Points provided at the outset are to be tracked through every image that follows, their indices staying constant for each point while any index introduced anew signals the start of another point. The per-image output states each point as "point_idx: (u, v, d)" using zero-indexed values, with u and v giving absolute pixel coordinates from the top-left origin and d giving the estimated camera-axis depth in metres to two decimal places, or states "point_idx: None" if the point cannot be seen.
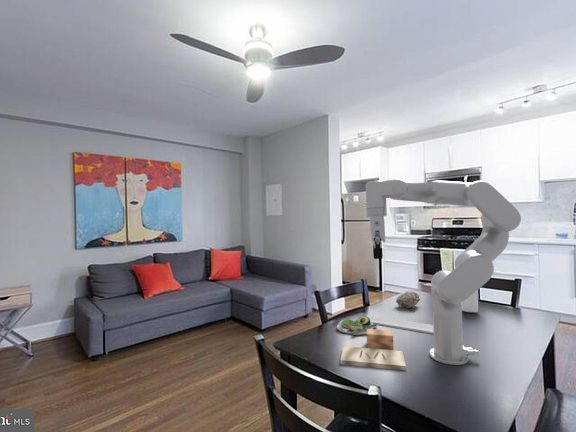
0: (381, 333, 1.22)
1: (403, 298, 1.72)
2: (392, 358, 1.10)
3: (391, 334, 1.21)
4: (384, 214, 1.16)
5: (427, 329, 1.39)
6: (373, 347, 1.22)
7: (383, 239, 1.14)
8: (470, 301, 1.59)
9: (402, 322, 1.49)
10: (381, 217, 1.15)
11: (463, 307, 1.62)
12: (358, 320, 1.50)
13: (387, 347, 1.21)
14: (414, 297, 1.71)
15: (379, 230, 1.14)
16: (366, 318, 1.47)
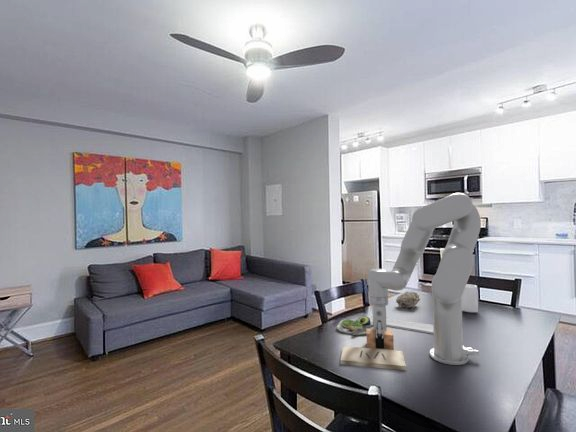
0: None
1: (403, 298, 1.72)
2: (392, 358, 1.10)
3: (391, 334, 1.21)
4: (386, 303, 1.21)
5: (427, 329, 1.39)
6: (373, 347, 1.22)
7: (385, 329, 1.19)
8: (470, 301, 1.59)
9: (402, 322, 1.49)
10: (383, 307, 1.20)
11: (463, 307, 1.62)
12: (358, 320, 1.50)
13: (387, 347, 1.21)
14: (414, 297, 1.71)
15: (381, 320, 1.19)
16: (366, 318, 1.47)
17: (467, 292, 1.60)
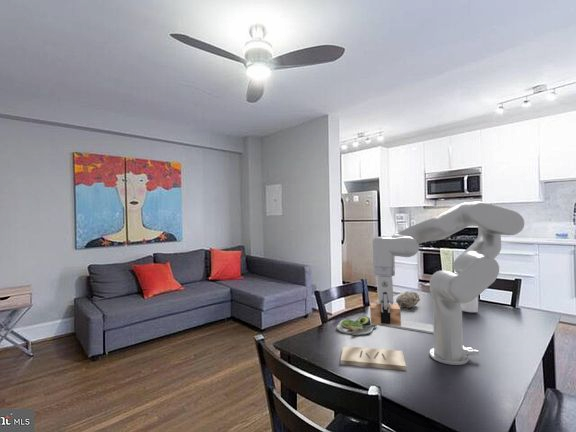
0: None
1: (403, 298, 1.72)
2: (392, 358, 1.10)
3: (397, 308, 1.09)
4: (392, 274, 1.09)
5: (427, 329, 1.39)
6: (378, 322, 1.10)
7: (391, 302, 1.07)
8: None
9: (402, 322, 1.49)
10: (389, 278, 1.08)
11: (463, 307, 1.62)
12: (358, 320, 1.50)
13: (394, 322, 1.09)
14: (414, 297, 1.71)
15: (387, 292, 1.07)
16: (366, 318, 1.47)
17: None
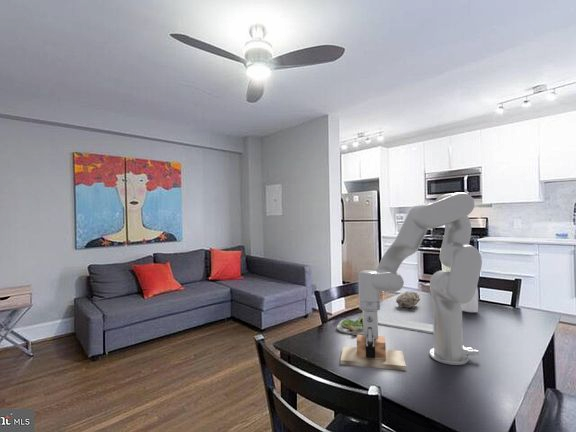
0: None
1: (403, 298, 1.72)
2: (392, 358, 1.10)
3: (383, 341, 1.10)
4: (377, 308, 1.10)
5: (427, 329, 1.39)
6: (364, 355, 1.11)
7: (376, 337, 1.08)
8: (470, 301, 1.59)
9: (402, 322, 1.49)
10: (374, 313, 1.09)
11: (463, 307, 1.62)
12: (358, 320, 1.50)
13: (379, 355, 1.10)
14: (414, 297, 1.71)
15: (372, 327, 1.08)
16: None
17: None
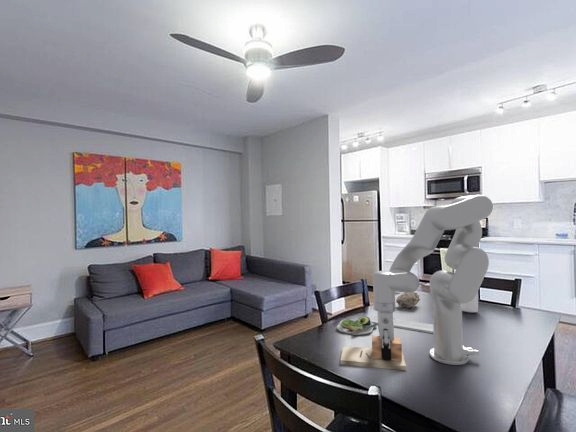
0: None
1: (403, 298, 1.72)
2: None
3: (399, 342, 1.09)
4: (393, 309, 1.09)
5: (426, 328, 1.40)
6: (379, 356, 1.10)
7: (392, 338, 1.07)
8: (470, 301, 1.59)
9: (402, 321, 1.50)
10: (390, 314, 1.08)
11: (463, 307, 1.62)
12: (358, 320, 1.50)
13: (395, 356, 1.08)
14: (414, 297, 1.71)
15: (388, 328, 1.07)
16: (366, 318, 1.47)
17: None
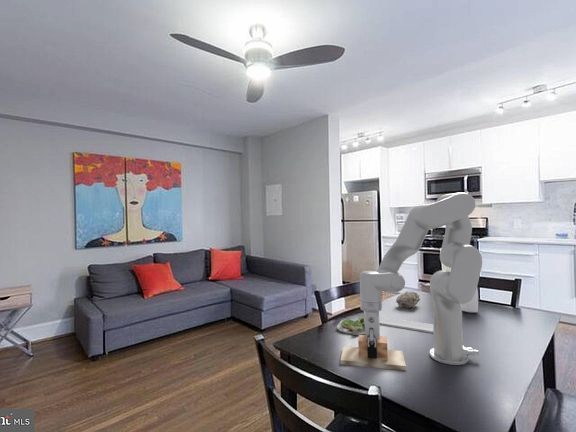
0: None
1: (403, 298, 1.72)
2: (392, 358, 1.10)
3: (385, 342, 1.10)
4: (379, 309, 1.10)
5: (426, 328, 1.40)
6: (365, 355, 1.11)
7: (377, 337, 1.08)
8: (470, 301, 1.59)
9: (401, 321, 1.50)
10: (375, 313, 1.09)
11: (463, 307, 1.62)
12: (358, 320, 1.50)
13: (381, 356, 1.10)
14: (414, 297, 1.71)
15: (373, 327, 1.08)
16: None
17: None
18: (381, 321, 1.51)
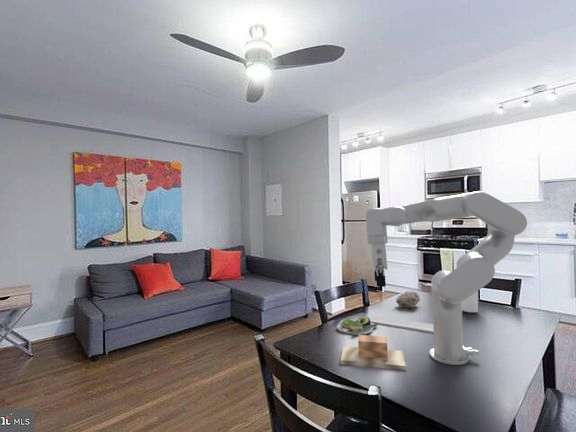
0: (375, 340, 1.11)
1: (403, 298, 1.72)
2: (392, 358, 1.10)
3: (385, 342, 1.10)
4: (385, 241, 1.17)
5: (426, 328, 1.40)
6: (365, 355, 1.11)
7: (385, 267, 1.15)
8: (470, 301, 1.59)
9: (401, 321, 1.50)
10: (383, 245, 1.16)
11: (463, 307, 1.62)
12: (358, 320, 1.50)
13: (381, 356, 1.10)
14: (414, 297, 1.71)
15: (381, 258, 1.15)
16: (366, 318, 1.47)
17: None
18: (381, 321, 1.51)
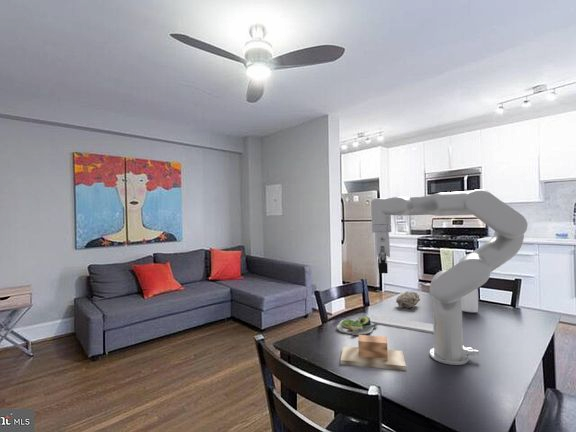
0: (375, 340, 1.11)
1: (403, 298, 1.72)
2: (392, 358, 1.10)
3: (385, 342, 1.10)
4: (389, 230, 1.22)
5: (426, 328, 1.40)
6: (365, 355, 1.11)
7: (388, 254, 1.19)
8: (470, 301, 1.59)
9: (401, 321, 1.50)
10: (386, 233, 1.20)
11: (463, 307, 1.62)
12: (358, 320, 1.50)
13: (381, 356, 1.10)
14: (414, 297, 1.71)
15: (384, 246, 1.20)
16: (366, 318, 1.47)
17: None
18: (381, 321, 1.51)
